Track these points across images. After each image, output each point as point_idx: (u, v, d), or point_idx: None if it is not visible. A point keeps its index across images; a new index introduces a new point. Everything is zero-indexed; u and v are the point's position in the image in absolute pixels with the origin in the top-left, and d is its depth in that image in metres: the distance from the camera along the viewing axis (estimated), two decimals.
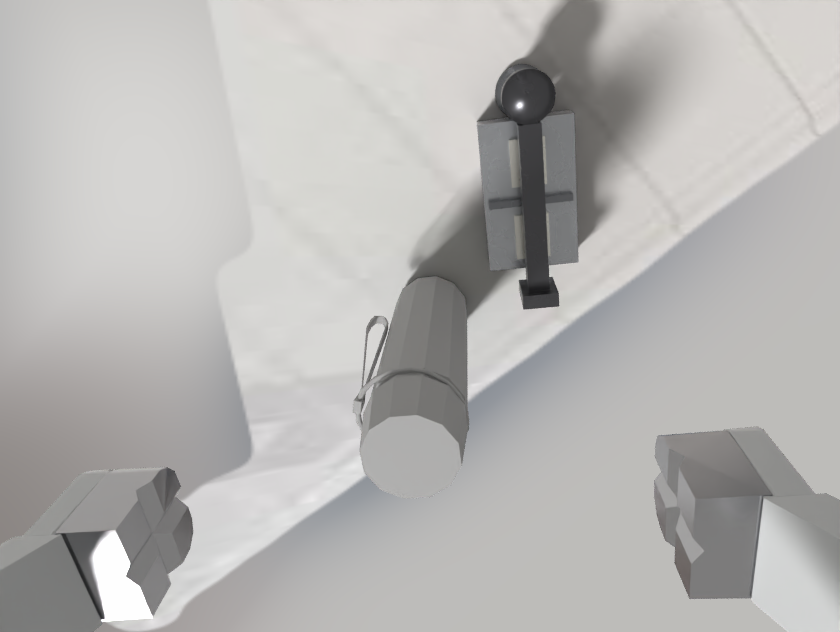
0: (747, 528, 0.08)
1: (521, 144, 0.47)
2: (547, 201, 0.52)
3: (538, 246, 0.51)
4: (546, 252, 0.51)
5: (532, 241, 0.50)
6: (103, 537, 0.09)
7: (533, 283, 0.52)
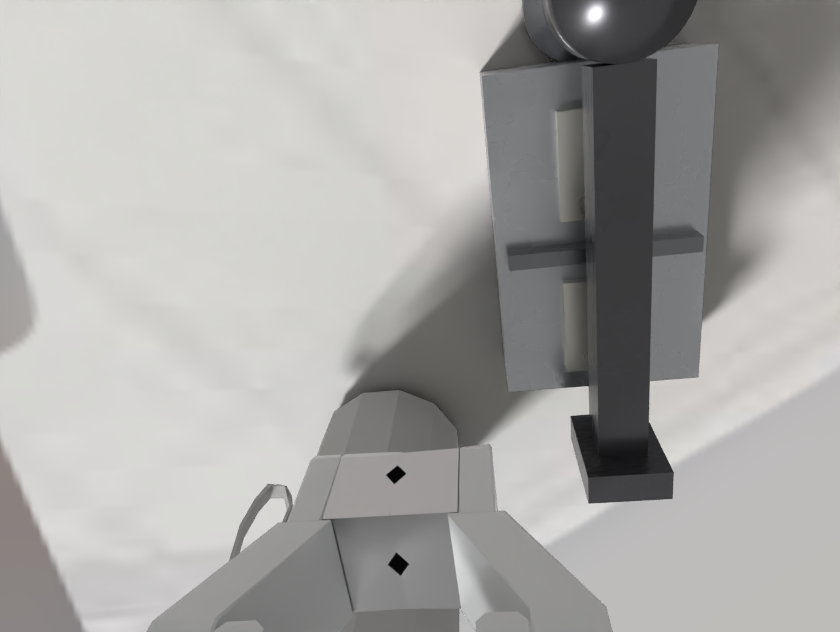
0: (441, 543, 0.08)
1: (598, 118, 0.18)
2: None
3: (627, 364, 0.21)
4: (646, 378, 0.21)
5: (614, 353, 0.21)
6: (374, 523, 0.08)
7: (611, 442, 0.23)
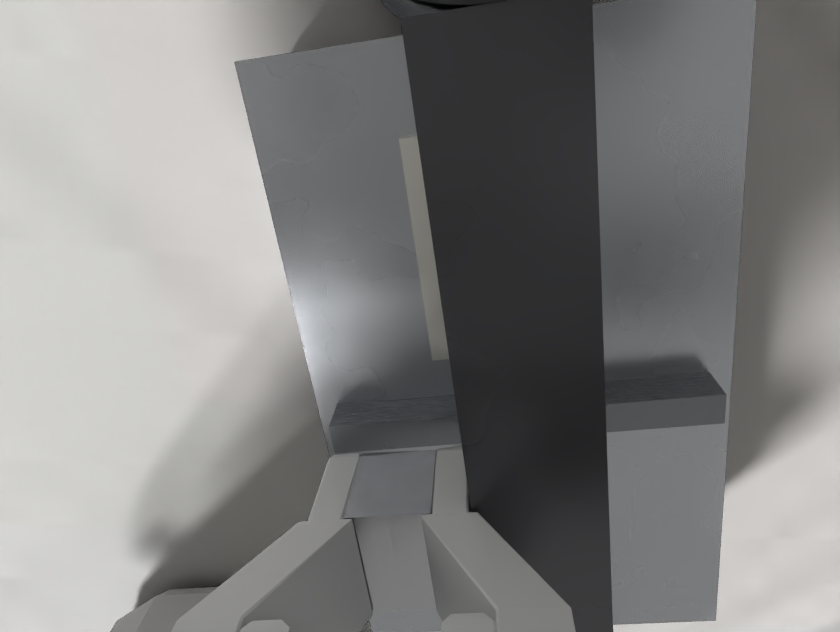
0: (415, 544, 0.08)
1: (435, 165, 0.06)
2: None
3: None
4: None
5: None
6: (395, 522, 0.08)
7: None
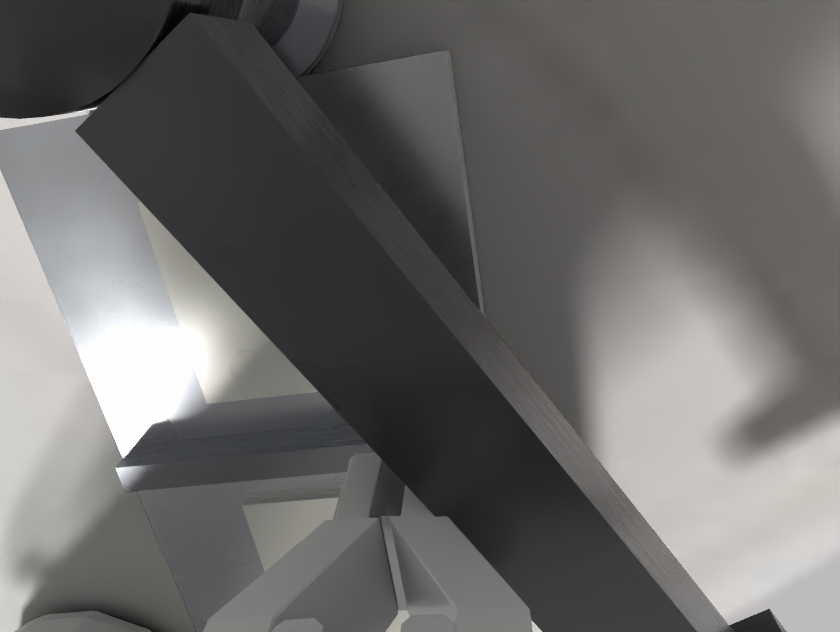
0: (385, 545, 0.08)
1: (181, 227, 0.07)
2: None
3: None
4: None
5: None
6: (423, 521, 0.08)
7: None
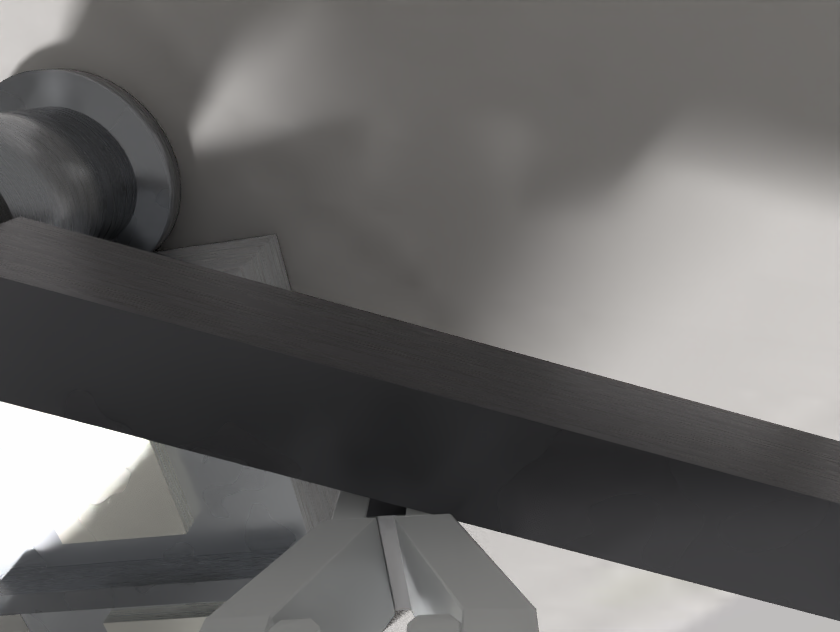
0: (389, 545, 0.08)
1: (36, 401, 0.08)
2: (194, 596, 0.13)
3: (685, 514, 0.08)
4: (751, 488, 0.08)
5: (634, 531, 0.08)
6: (420, 521, 0.08)
7: None
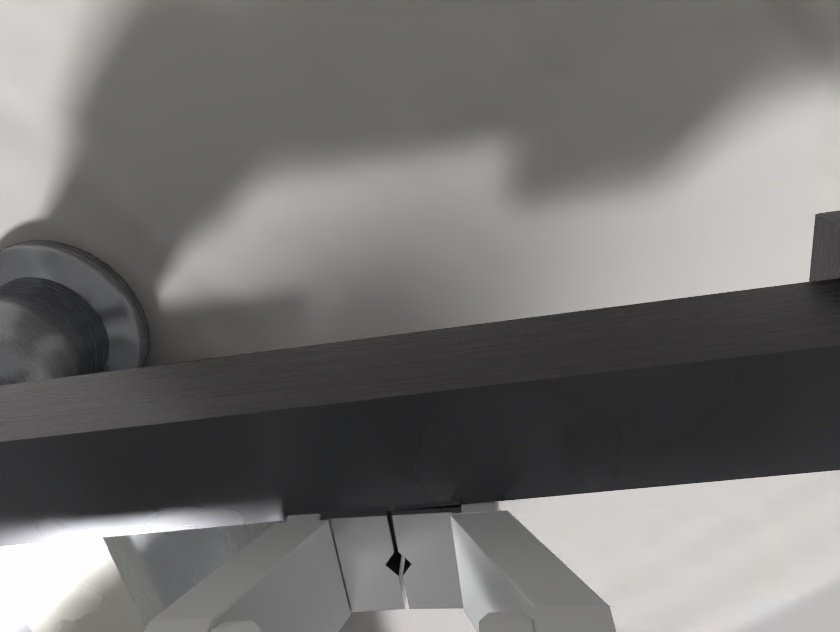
0: (444, 542, 0.08)
1: (16, 536, 0.09)
2: None
3: (595, 425, 0.08)
4: (643, 376, 0.07)
5: (559, 460, 0.08)
6: (371, 524, 0.08)
7: None
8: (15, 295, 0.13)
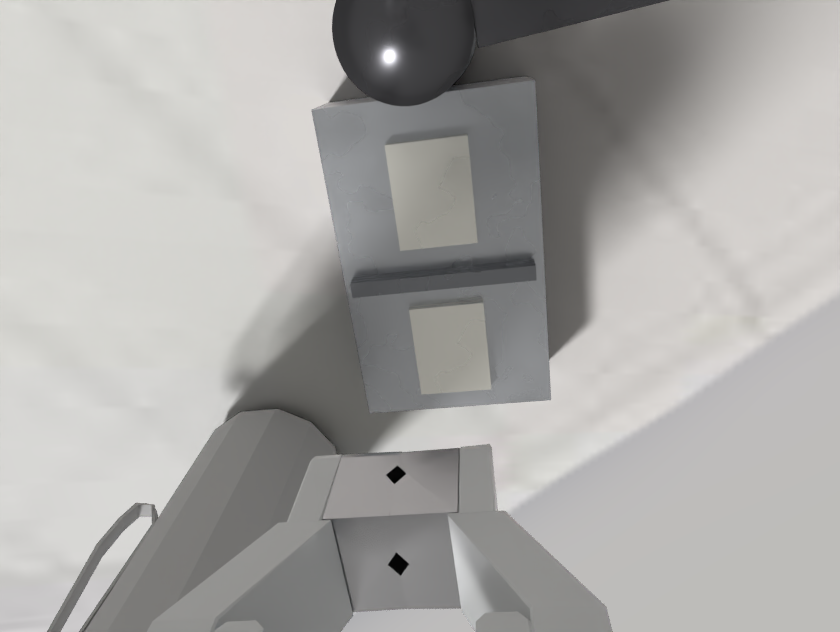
0: (441, 543, 0.08)
1: (528, 29, 0.17)
2: (478, 281, 0.23)
3: None
4: None
5: None
6: (374, 523, 0.08)
7: None
8: None
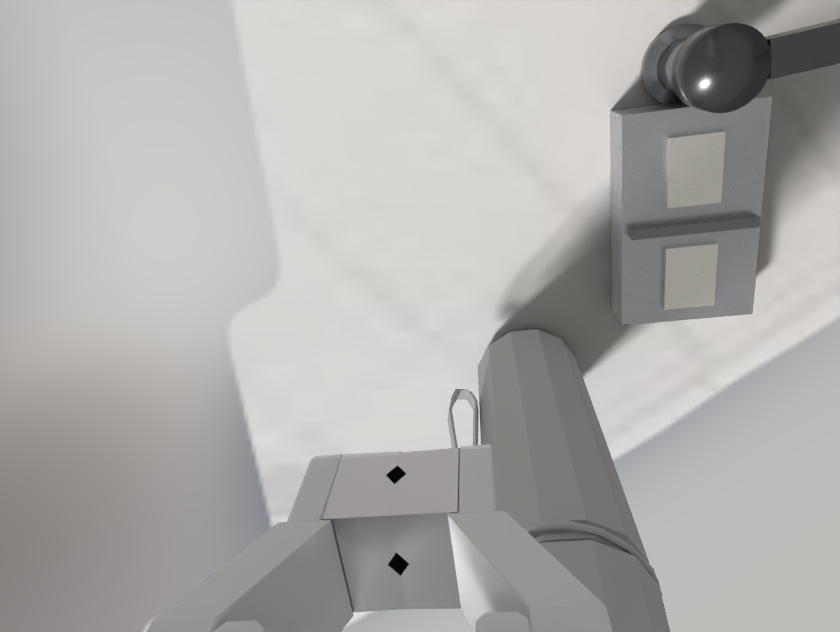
0: (441, 543, 0.08)
1: (802, 68, 0.29)
2: (720, 228, 0.35)
3: None
4: None
5: None
6: (374, 523, 0.08)
7: None
8: None
